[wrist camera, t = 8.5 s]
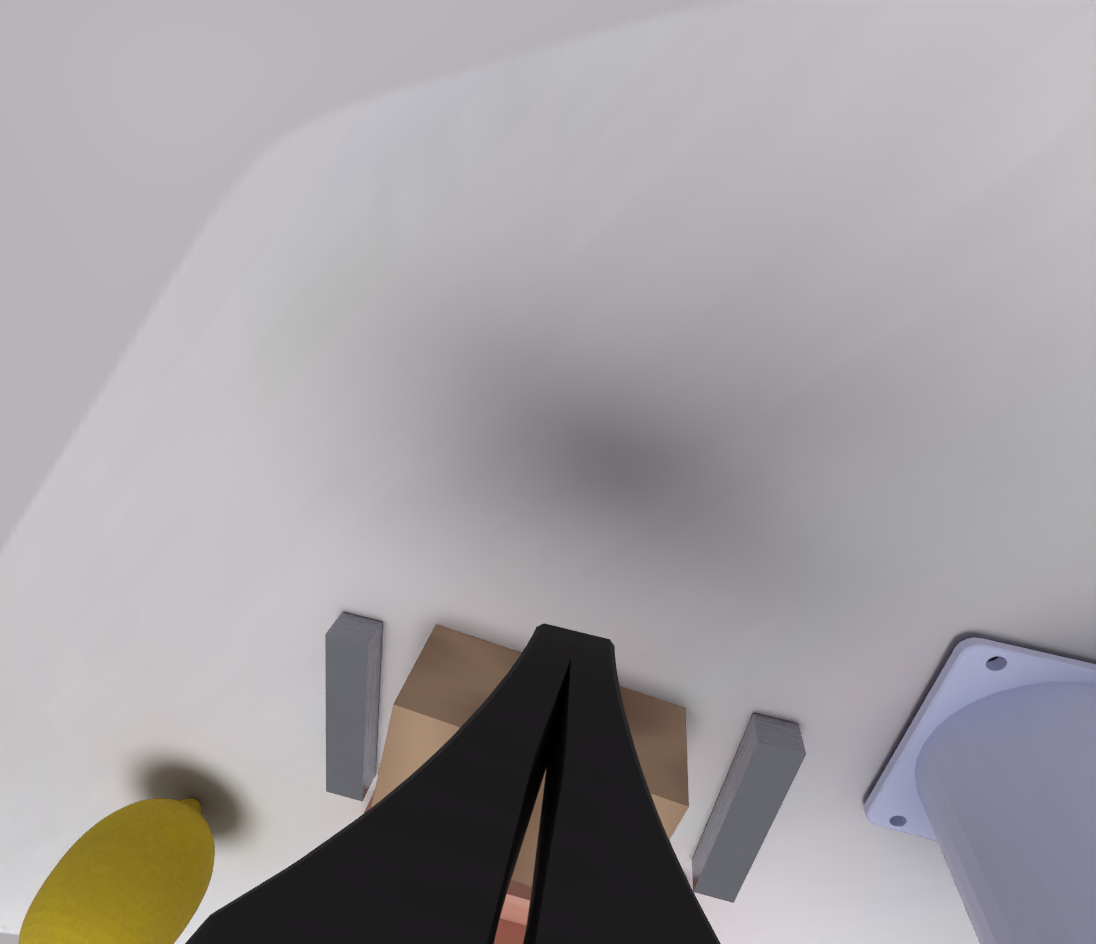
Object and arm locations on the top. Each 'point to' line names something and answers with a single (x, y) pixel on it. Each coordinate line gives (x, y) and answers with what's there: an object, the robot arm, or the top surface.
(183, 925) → the lemon
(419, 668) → the block
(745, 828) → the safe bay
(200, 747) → the top surface
